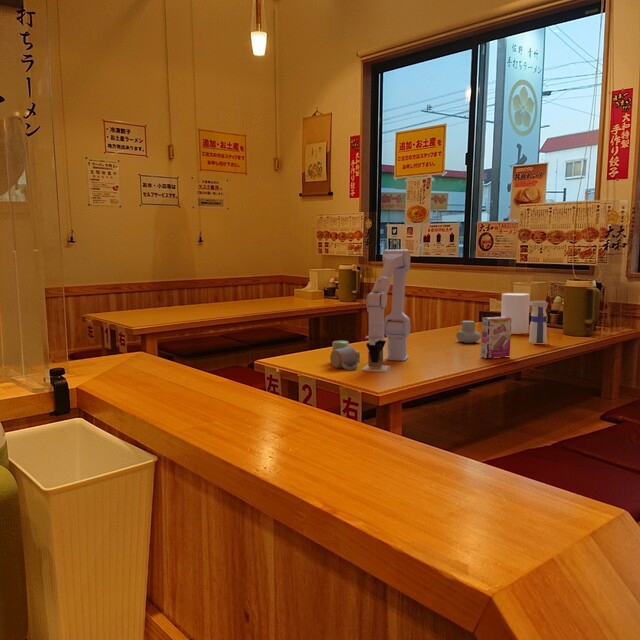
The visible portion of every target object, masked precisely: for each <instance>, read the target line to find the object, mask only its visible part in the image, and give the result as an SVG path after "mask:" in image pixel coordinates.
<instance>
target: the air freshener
mask: <svg viewBox="0 0 640 640" xmlns="http://www.w3.org/2000/svg"><path fill="white" fill-rule="evenodd" d="M455 336H456V337H455V338H456V339H457V341H459V342H461V343H462V342H464V343H463V344H474V343H473V342H475V343H476V342H478V341H479V340H481V339H480V338H481V334H480V332H478V331H477V330H476V321H474V320H462V321H461V330H459V331H457V332H456V334H455Z"/></svg>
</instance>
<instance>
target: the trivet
mask: <svg viewBox="0 0 640 640" xmlns="http://www.w3.org/2000/svg"><path fill="white" fill-rule="evenodd" d="M390 368H391V365H386V364H385V365H384V364H383V365H382V366H381V367H368V363H367V364H366V365H364V367H363V368H361V372H377V373H386V372H388V370H389V369H390Z"/></svg>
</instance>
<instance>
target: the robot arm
mask: <svg viewBox="0 0 640 640" xmlns="http://www.w3.org/2000/svg"><path fill="white" fill-rule="evenodd" d="M381 255H382V263H383V267H382V271H381V274H380V276H378V277H377V278H376V280H375V283H374V284H373V286H372V289H371V292H369V293H367V294H366V297H365V305H366V311H367V313H368V335H366V336H365V337H364V338H365V339H368V342H367V343H366V345H365V346H366V347H367V349H368V352H370V356H371V361H372V362H373V363H377V362H378V359H379V352H380V350H383V351H384V347H385V344H386V342H387V357H386V358H384V359H385V361H400V362H401V361H402V362H405V361H406V360H407V359H408V358H409V356H410V355H408V354H407V338H408V337H409V335H410V333H411V329H412V328H411V318H410V317H409V316H408V315H406V314H405V312H404V309H405V308H404V307H405V293H406V277H407V272H408V271H410V269H411V253H410V251H409V249H407V248H404V249H384V250H383V253H382V254H381ZM392 275H393V277H392ZM391 278H392V282H391V281H390V280H391ZM391 283H392V294H391V312H390V313H389V314H387V315H386V316H385V309H386V307H387V302H388V292H389V290H390V287H391ZM385 336H386V338H387V341H386V340H385Z"/></svg>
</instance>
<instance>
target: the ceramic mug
mask: <svg viewBox="0 0 640 640" xmlns="http://www.w3.org/2000/svg"><path fill="white" fill-rule="evenodd" d="M356 351H357V350H355V348H354V347H353V346H350V345H349V347H345V348H341V349H336V350H334V351H333V350H332V351H331V353H330V356H329V358H330V359H329V360H330V364H331V365H332V367H333V368H335V369H345V370H346V371H356V370H357V368H358V362H357V353H356Z"/></svg>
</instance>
